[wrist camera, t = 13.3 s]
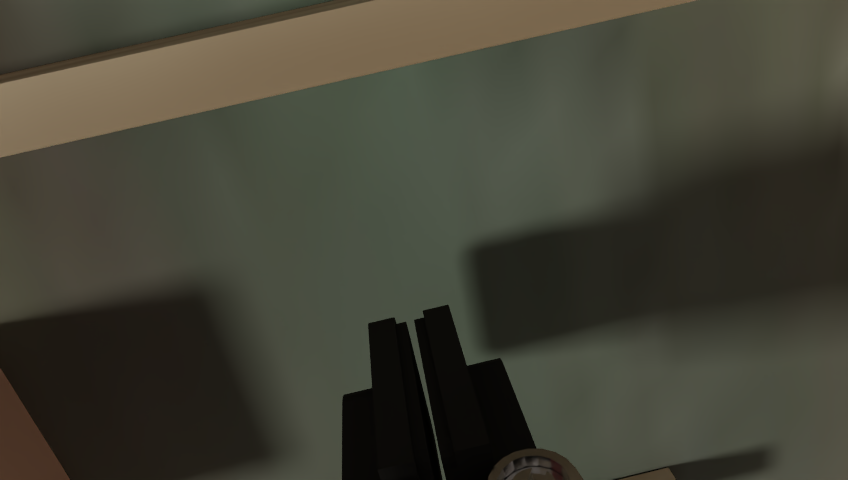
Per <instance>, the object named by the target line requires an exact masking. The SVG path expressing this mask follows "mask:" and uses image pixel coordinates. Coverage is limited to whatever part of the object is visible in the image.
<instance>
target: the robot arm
mask: <svg viewBox="0 0 848 480" xmlns="http://www.w3.org/2000/svg"><path fill="white" fill-rule="evenodd" d="M423 314H424V318H420V319H416V320H414V322H415V327H416V332H417V337H418V343H419V348H420V353H421V358H422V363H423V369H424V374H425V379H426V384H427V389H428V394H429V400H430V405H431V410H432V415H433V420H434V426H435V431H436V436H437V441H438V446H439V451H440V455H441V460H442V464H443V468H444V472H445V477H446V480H583V478H582V477H581V475H580V474H579V472H578V471H577V469H576V468H575V467H574V466H573V465H572V464H571V463H570V462H569V461H568V460H567V458H565V457H563V456H561V455H559V454H558V453H556V452H553V451H549V450H545V449H536V446H535V444H534V441H533V438H532V436H531V433H530V431H529V428H528V426H527V423H526V421H525V418H524V416H523V413H522V410H521V408H520V405H519V403H518V400H517V398H516V395H515V393H514V390H513V387H512V385H511V382H510V380H509V377H508V375H507V372H506V370H505V367H504V365H503V362H502V360H501V359H500V358H498V359H494V360H490V361H485V362H481V363H477V364H473V365H469V366H467V365H466V362H465V358H464V355H463V352H462V348H461V345H460V342H459V338H458V335H457V332H456V328H455V325H454V322H453V318H452V315H451V312H450V309H449V305H445V306H441V307H436V308H432V309H428V310H424V311H423ZM368 329H369V344H370V359H371V375H372V388H371V389H367V390H362V391H358V392H354V393H350V394H345V395H344V396H343V402H342V480H442V475H441V469H440V464H439V459H438V454H437V448H436V443H435V438H434V433H433V428H432V424H431V420H430V416H429V412H428V408H427V404H426V400H425V396H424V392H423V388H422V384H421V380H420V375H419V371H418V367H417V363H416V359H415V355H414V351H413V347H412V343H411V339H410V335H409V331H408V327H407V324H406V322H403V323H399V324H396V321H395V318H389V319H385V320H381V321H376V322H372V323H369V324H368Z"/></svg>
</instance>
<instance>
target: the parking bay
mask: <svg viewBox="0 0 848 480" xmlns="http://www.w3.org/2000/svg"><path fill="white" fill-rule="evenodd" d="M691 1H696V0H334V1H329V2H325V3H320V4H316V5H311V6H307V7H302V8H298V9H294V10H289V11H285V12H280V13H276V14H271V15H267V16H262V17H258V18H253V19H249V20H244V21H240V22H235V23H231V24H226V25H222V26H217V27H213V28H208V29H204V30H199V31H195V32H190V33H186V34H181V35H177V36H172V37H168V38H163V39H159V40H154V41H150V42H145V43H141V44H136V45H132V46H127V47H123V48H118V49H114V50H109V51H105V52H100V53H96V54H91V55H87V56H82V57H78V58H73V59H69V60H64V61H60V62H55V63H51V64H46V65H42V66H37V67H33V68H28V69H24V70H19V71H15V72H10V73H6V74H1V75H0V157H4V156H9V155H13V154H18V153H22V152H27V151H31V150H35V149H40V148H44V147H49V146H53V145H58V144H62V143H67V142H71V141H75V140H80V139H84V138H89V137H93V136H98V135H102V134H106V133H111V132H115V131H120V130H124V129H129V128H133V127H137V126H142V125H146V124H151V123H155V122H160V121H164V120H168V119H173V118H177V117H182V116H186V115H191V114H195V113H199V112H204V111H208V110H213V109H217V108H222V107H226V106H230V105H235V104H239V103H244V102H248V101H253V100H257V99H261V98H266V97H270V96H275V95H279V94H284V93H288V92H292V91H297V90H301V89H306V88H310V87H315V86H319V85H323V84H328V83H332V82H337V81H341V80H346V79H350V78H354V77H359V76H363V75H368V74H372V73H377V72H381V71H385V70H390V69H394V68H399V67H403V66H408V65H412V64H416V63H421V62H425V61H430V60H434V59H439V58H443V57H448V56H452V55H456V54H461V53H465V52H470V51H474V50H479V49H483V48H487V47H492V46H496V45H501V44H505V43H510V42H514V41H518V40H523V39H527V38H532V37H536V36H541V35H545V34H549V33H554V32H558V31H563V30H567V29H572V28H576V27H580V26H585V25H589V24H594V23H598V22H603V21H607V20H611V19H616V18H620V17H625V16H629V15H634V14H638V13H642V12H647V11H651V10H656V9H660V8H665V7H669V6H673V5H678V4H682V3H687V2H691ZM619 480H676V479H675V477H674V476H673V474H672V473H671V471H670V470H669V468H664V469H660V470H656V471H652V472H648V473H644V474H640V475H635V476H631V477H627V478H623V479H619Z"/></svg>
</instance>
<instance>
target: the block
mask: <svg viewBox="0 0 848 480" xmlns="http://www.w3.org/2000/svg"><path fill="white" fill-rule="evenodd" d="M0 480H70V479H69V477H68V475H67V474H66V472H65V471H64V469H63V467H62V466H61V464H60V463H59V461H58V459H57V458H56V456H55V455H54V453H53V451H52V450H51V448H50V447H49V445H48V443H47V442H46V440H45V439H44V437H43V435H42V434H41V432H40V431H39V429H38V427H37V426H36V424H35V423H34V421H33V419H32V418H31V416H30V415H29V413H28V411H27V410H26V408H25V407H24V405H23V403H22V402H21V400H20V399H19V397H18V395H17V394H16V392H15V391H14V389H13V387H12V386H11V384H10V383H9V381H8V379H7V378H6V376H5V375H4V373H3V371H2V370H1V368H0Z"/></svg>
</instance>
